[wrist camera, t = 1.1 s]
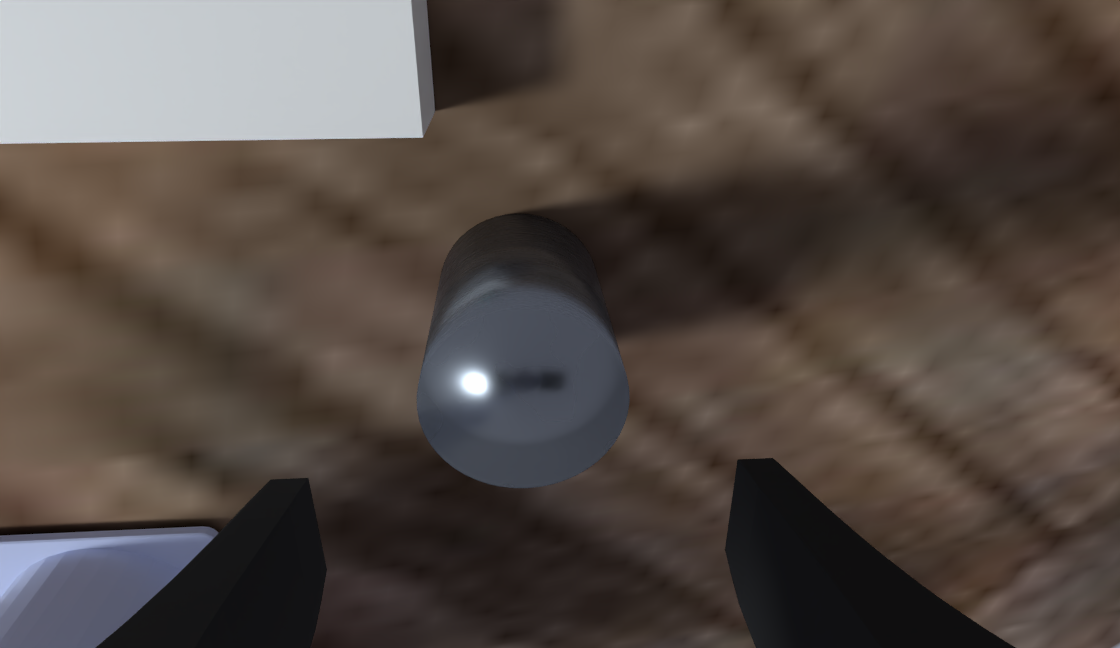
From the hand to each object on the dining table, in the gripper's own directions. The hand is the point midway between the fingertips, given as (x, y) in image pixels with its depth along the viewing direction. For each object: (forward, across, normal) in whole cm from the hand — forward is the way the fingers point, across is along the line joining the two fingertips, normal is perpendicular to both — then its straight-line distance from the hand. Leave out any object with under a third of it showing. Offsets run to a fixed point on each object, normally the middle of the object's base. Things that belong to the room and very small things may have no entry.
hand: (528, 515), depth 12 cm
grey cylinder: (+9, 0, 0) cm, 9 cm away
